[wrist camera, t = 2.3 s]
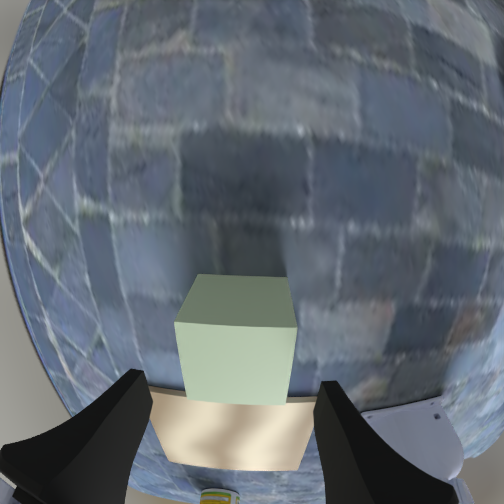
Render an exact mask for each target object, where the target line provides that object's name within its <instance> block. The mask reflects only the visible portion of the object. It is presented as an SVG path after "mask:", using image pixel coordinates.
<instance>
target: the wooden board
mask: <svg viewBox="0 0 504 504" xmlns="http://www.w3.org/2000/svg"><path fill="white" fill-rule="evenodd" d="M148 387H149V390H150V393H151V396H152V399H153V405H152V410H151V414H150V420H151V422H152V425H153V427H154V429H155V432H156V434H157V436H158V439H159V441H160V443H161V445H162V448H163V450H164V452H165V454H166V456H167V458H168V460H169V461H170V462H176V463H181V464H188V465H194V466H202V467H210V468H219V469H232V470H250V471H288V470H298V467H299V465H300V462H301V459H302V457H303V454H304V452H305V449H306V446H307V444H308V441H309V438H310V435H311V432H312V429H313V426H314V418H313V410H314V406H315V403H316V400H317V396H314V397H287V398H286V404H285V405H244V404H227V403H215V402H204V401H195V400H187V395H186V391H179V390H172V389H165V388H159V387H153V386H148Z"/></svg>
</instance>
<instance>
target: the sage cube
mask: <svg viewBox="0 0 504 504" xmlns="http://www.w3.org/2000/svg"><path fill="white" fill-rule="evenodd" d="M174 325H175V332H176V339H177V345H178V351H179V358H180V363H181V369H182V375H183V380H184V385H185V390H186V395H187V400H195V401H204V402H215V403H227V404H244V405H285V404H286V398H287V393H288V387H289V381H290V375H291V368H292V362H293V355H294V348H295V341H296V334H297V323H296V318H295V313H294V308H293V303H292V298H291V293H290V288H289V284H288V279H287V277H261V276H234V275H211V274H198V275H197V277H196V279H195V281H194V283H193V285H192V287H191V289H190V291H189V293H188V295H187V297H186V299H185V301H184V303H183V305H182V307H181V309H180V311H179V313H178V315H177V317H176V319H175V321H174Z"/></svg>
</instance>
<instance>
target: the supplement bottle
mask: <svg viewBox="0 0 504 504" xmlns="http://www.w3.org/2000/svg"><path fill="white" fill-rule="evenodd" d="M239 501H240V496H239V494H238V493H236V492H233V491H230V490H225V489H217V488H210V489H205V490H203V491H202V493H201V499H200V504H239Z"/></svg>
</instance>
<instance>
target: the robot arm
mask: <svg viewBox="0 0 504 504" xmlns="http://www.w3.org/2000/svg"><path fill="white" fill-rule="evenodd" d="M443 400H444V398H443V396H439V397H435V398H431V399H428V400H424V401H419V402H415V403H411V404H406V405H401V406H396V407H391V408H386V409H380V410H374V411H367V412H363V413H361V414H360V413H359V411H358V410H357V409H356V408H355V406H354V405H353V403H352V402H351V401H350V399H349V398H348V396H347V395H346V394H345V392H344V391H343V389H342V388H341V386H340V385H339V383H338V382H337V381H321V385H320V389H319V392H318V396H317V400H316V403H315V406H314V410H313V418H314V430H315V436H316V441H317V446H318V451H319V456H320V460H321V465H322V470H323V475H324V482H325V495H326V504H475V503H474V501H473V498H472V496H471V494H470V491H469V489H468V487H467V485H466V483H465V482H464V480H463V479H460V478H459V479H458V478H456V476H457V475H458V473H459V472H460V470H461V468H462V465H463V459H464V453H463V447H462V444H461V441H460V439H459V437H458V436H457V434H456V432H455V430H454V428H453V426H452V424H451V422H450V420H449V419H448V417H447V415H446V413H445V411H444V409H443V408H442V406H441V403H442V402H443ZM152 405H153V399H152V396H151V393H150V390H149V387H148V384H147V380H146V377H145V374H144V371H142V370H136V369H130V370H129V371H127V372H126V373H125V374H124V375H123V376H122V377H121V378H120V379H119V380H117V381H116V382H115V383H114V384H113V385H112V386H111V387H110V388H109V389H108V390H106V391H105V392H104V393H103V394H102V395H101V396H100V397H98V398H97V399H96V400H95V401H94V402H92V403H91V404H90V405H89V406H87V407H86V408H85V409H83V410H82V411H81V412H79V413H78V414H77V415H75V416H74V417H72V418H71V419H69V420H67V421H66V422H64V423H62V424H61V425H59V426H57V427H55V428H53V429H51V430H49V431H47V432H45V433H42V434H40V435H37V436H35V437H32V438H29V439H26V440H23V441H19V442H15V443H10V444H5V445H3V447H2V448H1V450H0V472H1V473H2V474H3V475H5V476H6V477H7V478H8V479H9V480H10V481H12V482H13V483H14V484H15V485H17V487H16V489H14V488H13V487H11V486H10V485H9V484H7V483H6V482H5V481H4V480H2V479H1V478H0V504H124V503H125V496H126V490H127V485H128V480H129V476H130V471H131V467H132V464H133V461H134V458H135V455H136V453H137V450H138V447H139V445H140V442H141V440H142V437H143V435H144V432H145V429H146V427H147V424H148V422H149V418H150V414H151V410H152Z"/></svg>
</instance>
